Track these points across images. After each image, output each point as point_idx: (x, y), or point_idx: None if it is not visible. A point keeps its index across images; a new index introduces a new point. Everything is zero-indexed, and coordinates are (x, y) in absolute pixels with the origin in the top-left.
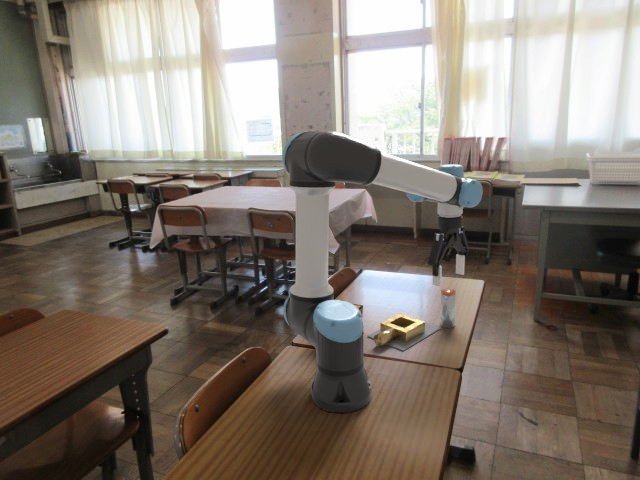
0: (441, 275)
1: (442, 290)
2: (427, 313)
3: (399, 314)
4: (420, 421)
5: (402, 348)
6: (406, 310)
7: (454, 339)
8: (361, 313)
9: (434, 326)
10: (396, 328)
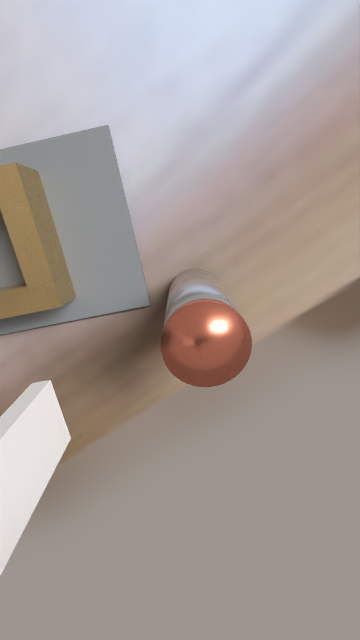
0: (31, 511)
1: (184, 319)
2: (214, 161)
3: (6, 173)
4: None
5: None
6: (161, 62)
7: (131, 382)
8: None
9: (138, 283)
10: None
